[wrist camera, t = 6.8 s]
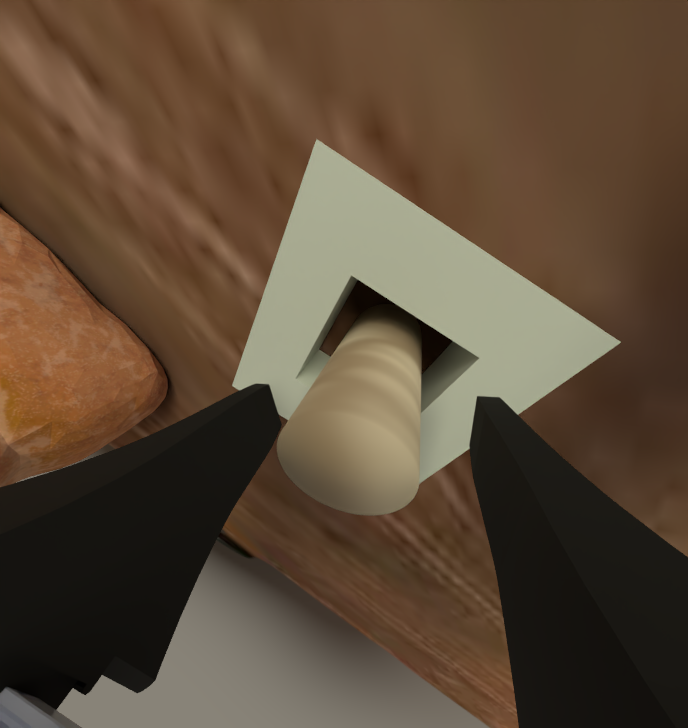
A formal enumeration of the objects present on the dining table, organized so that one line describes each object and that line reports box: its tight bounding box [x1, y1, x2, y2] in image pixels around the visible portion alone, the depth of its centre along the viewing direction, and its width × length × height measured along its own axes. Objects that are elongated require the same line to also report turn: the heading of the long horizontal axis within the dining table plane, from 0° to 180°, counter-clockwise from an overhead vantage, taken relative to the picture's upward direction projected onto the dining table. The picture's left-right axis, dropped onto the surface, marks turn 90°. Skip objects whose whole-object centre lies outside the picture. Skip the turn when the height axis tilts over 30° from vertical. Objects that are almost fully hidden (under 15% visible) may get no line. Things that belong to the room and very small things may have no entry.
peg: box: [277, 304, 422, 515], centre depth 11 cm, size 4×4×9 cm
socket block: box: [232, 140, 621, 484], centre depth 13 cm, size 12×12×4 cm
